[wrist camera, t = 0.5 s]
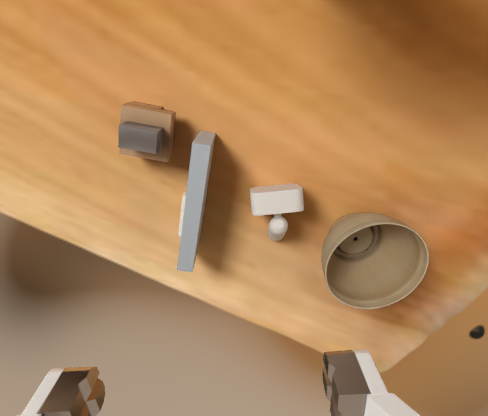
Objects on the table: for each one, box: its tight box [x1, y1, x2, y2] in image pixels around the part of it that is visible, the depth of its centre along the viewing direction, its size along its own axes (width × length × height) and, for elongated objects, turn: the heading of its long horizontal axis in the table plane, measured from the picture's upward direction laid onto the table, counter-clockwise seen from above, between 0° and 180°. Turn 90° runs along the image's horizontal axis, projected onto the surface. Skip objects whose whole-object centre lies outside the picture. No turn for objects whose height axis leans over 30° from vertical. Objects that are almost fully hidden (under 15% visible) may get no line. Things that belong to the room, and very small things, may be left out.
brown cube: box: [118, 101, 176, 162], centre depth 45 cm, size 7×7×9 cm
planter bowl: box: [322, 213, 429, 309], centre depth 53 cm, size 16×16×11 cm
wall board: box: [177, 130, 216, 272], centre depth 50 cm, size 21×4×9 cm, turn 169°
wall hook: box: [250, 184, 304, 241], centre depth 51 cm, size 8×10×10 cm
